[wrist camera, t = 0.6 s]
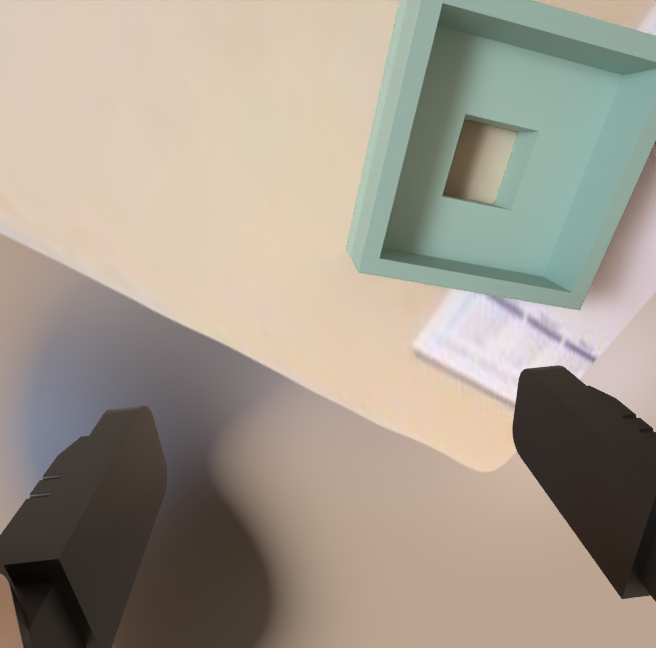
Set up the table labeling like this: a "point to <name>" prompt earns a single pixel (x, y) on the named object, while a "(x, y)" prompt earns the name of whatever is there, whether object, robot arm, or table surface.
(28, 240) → the table surface
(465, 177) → the table surface
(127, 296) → the table surface
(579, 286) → the bore box
